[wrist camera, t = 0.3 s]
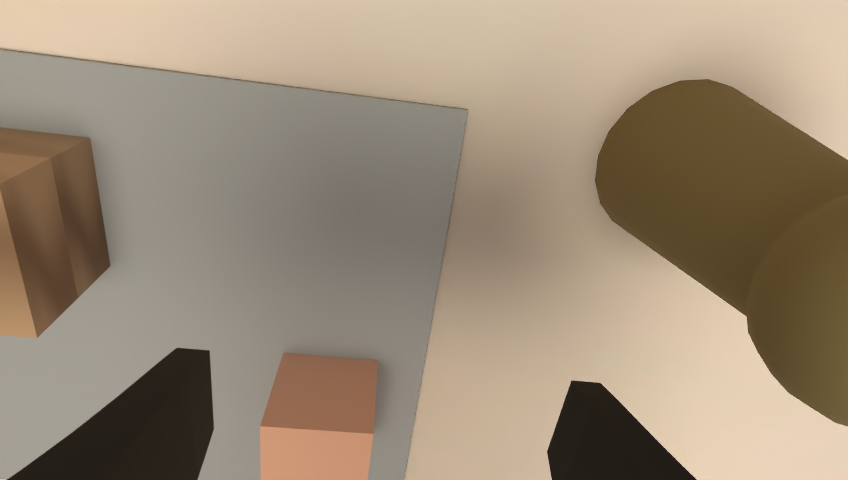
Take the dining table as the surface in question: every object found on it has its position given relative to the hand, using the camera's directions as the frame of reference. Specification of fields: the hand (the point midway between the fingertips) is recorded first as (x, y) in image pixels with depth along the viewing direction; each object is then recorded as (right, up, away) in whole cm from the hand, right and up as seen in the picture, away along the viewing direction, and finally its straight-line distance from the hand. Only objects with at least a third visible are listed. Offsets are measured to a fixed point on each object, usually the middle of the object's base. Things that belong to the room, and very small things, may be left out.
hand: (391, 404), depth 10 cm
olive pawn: (+10, +6, +9) cm, 14 cm away
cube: (-4, -3, +12) cm, 13 cm away
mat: (-9, 0, +11) cm, 14 cm away
